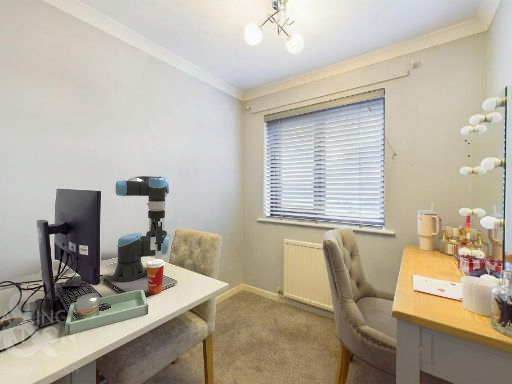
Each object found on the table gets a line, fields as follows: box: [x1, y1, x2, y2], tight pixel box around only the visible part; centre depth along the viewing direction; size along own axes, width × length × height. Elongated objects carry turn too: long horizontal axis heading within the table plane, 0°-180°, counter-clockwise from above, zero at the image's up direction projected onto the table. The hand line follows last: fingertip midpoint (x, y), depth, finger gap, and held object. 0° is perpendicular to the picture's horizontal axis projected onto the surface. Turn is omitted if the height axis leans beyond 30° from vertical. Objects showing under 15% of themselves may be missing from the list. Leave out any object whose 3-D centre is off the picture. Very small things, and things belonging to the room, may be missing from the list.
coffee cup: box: [146, 258, 165, 296], centre depth 113 cm, size 8×8×15 cm
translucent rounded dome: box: [76, 292, 100, 321], centre depth 89 cm, size 7×7×8 cm
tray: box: [64, 288, 149, 336], centre depth 93 cm, size 16×26×4 cm, turn 123°
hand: (155, 253), depth 112 cm, fingers open, 13 cm apart
